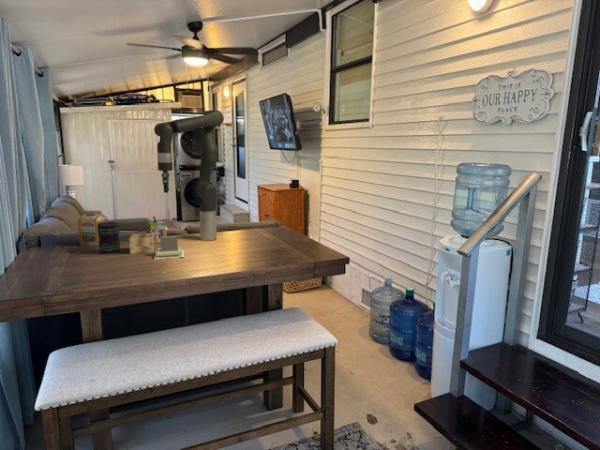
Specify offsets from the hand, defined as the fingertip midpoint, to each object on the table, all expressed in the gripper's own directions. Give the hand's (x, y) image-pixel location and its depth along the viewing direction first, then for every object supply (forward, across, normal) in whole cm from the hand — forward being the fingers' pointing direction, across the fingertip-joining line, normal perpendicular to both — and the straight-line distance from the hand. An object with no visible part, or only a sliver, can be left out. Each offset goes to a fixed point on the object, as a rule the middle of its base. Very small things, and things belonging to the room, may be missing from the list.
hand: (166, 191), depth 217 cm
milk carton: (+30, +13, +40) cm, 52 cm away
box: (+30, -8, +13) cm, 34 cm away
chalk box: (+30, +12, +7) cm, 33 cm away
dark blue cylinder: (+30, -7, +29) cm, 43 cm away
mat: (+30, -20, -1) cm, 36 cm away
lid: (+29, -20, -1) cm, 35 cm away
